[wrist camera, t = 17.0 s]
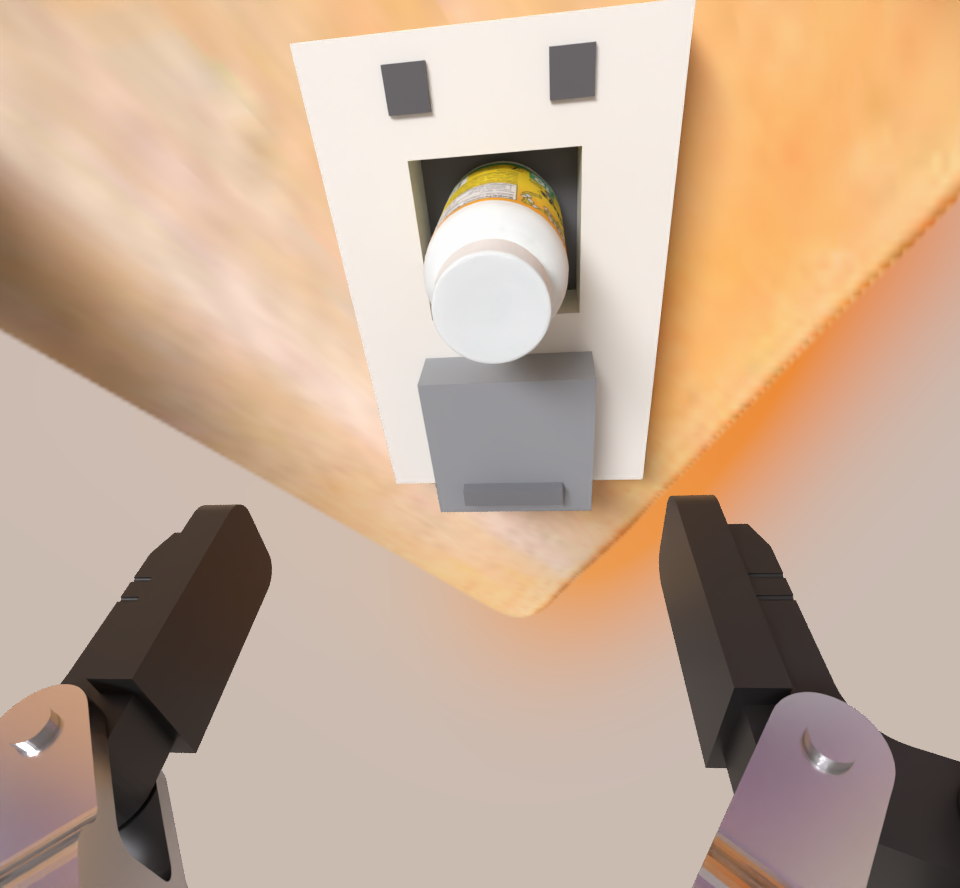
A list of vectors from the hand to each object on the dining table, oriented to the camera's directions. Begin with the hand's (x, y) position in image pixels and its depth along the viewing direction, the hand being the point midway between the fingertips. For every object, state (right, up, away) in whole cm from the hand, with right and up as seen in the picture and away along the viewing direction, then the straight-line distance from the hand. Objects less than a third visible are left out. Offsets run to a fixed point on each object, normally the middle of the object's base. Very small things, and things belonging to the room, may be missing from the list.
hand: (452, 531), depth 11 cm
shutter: (+2, +3, +19) cm, 19 cm away
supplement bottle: (+2, +12, +15) cm, 20 cm away
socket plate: (+2, +10, +17) cm, 20 cm away
